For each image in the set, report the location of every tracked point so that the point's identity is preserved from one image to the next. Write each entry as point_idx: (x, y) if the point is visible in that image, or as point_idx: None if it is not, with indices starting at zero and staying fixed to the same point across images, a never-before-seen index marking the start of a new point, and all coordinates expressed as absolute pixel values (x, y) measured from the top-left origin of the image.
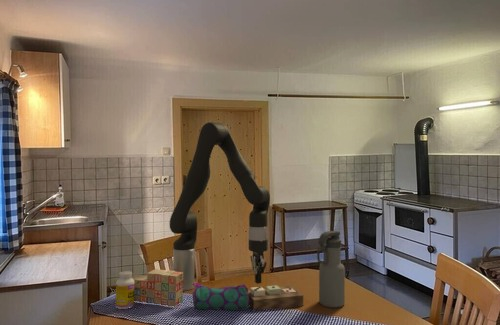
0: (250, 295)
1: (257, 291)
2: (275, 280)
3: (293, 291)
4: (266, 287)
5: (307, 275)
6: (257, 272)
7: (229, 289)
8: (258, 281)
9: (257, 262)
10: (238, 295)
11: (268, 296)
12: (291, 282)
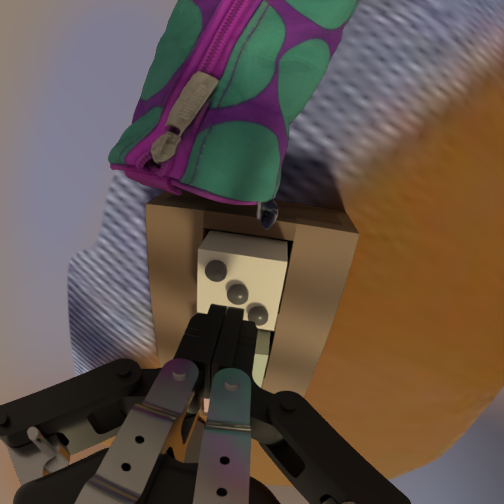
0: (233, 219)
1: (198, 269)
2: (445, 401)
3: (207, 406)
4: (266, 350)
5: (404, 458)
6: (119, 366)
7: (195, 34)
8: (192, 324)
9: (85, 463)
10: (141, 100)
11: (182, 304)
12: (396, 429)
